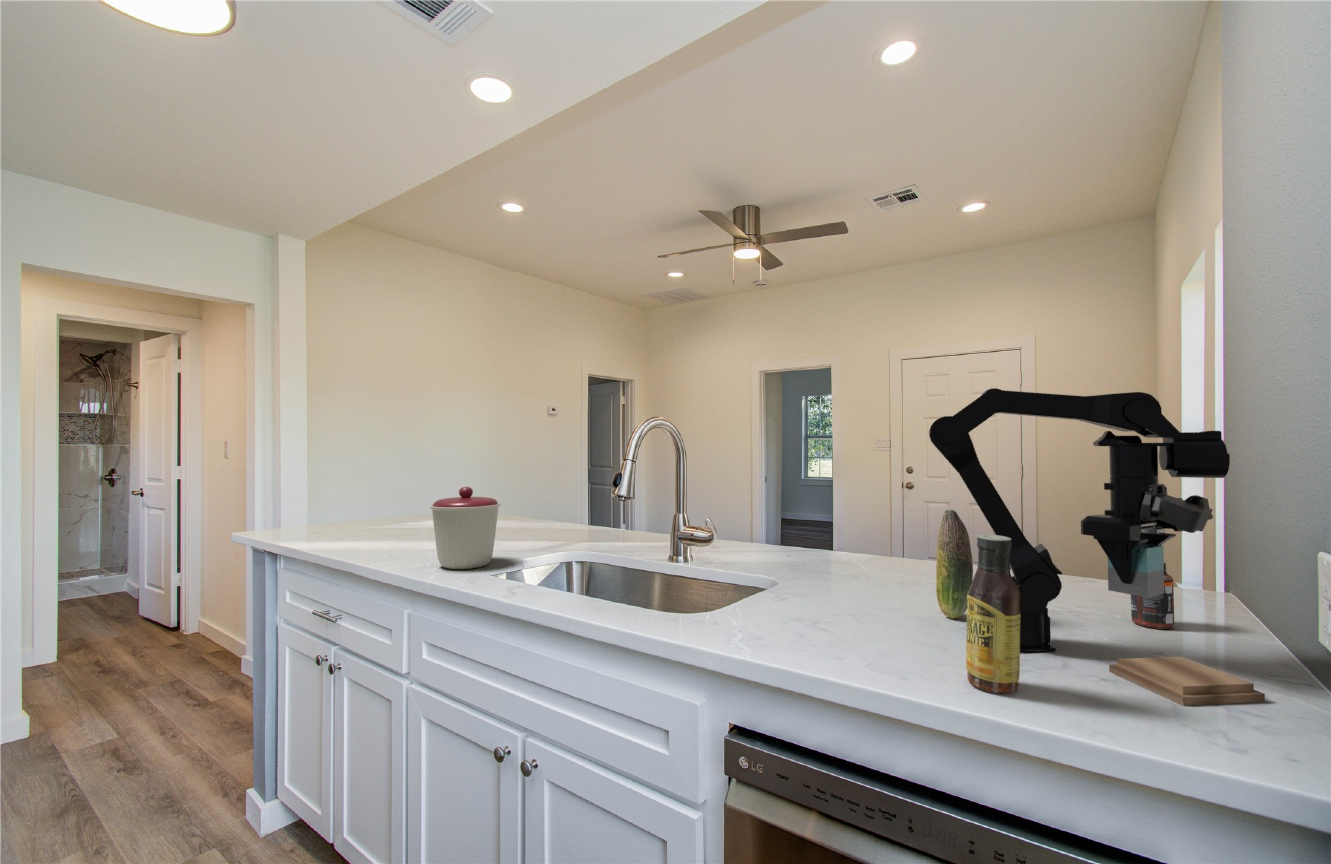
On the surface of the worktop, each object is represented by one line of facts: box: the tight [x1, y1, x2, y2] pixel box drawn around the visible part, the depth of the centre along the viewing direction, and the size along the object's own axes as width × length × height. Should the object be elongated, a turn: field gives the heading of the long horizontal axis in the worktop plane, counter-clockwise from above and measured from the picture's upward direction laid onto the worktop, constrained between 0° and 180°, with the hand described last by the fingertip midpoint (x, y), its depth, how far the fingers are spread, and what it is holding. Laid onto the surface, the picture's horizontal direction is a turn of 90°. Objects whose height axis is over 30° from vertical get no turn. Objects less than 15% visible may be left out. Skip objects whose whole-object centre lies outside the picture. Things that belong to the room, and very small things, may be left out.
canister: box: [429, 486, 502, 570], centre depth 160 cm, size 18×18×21 cm
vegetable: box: [935, 509, 974, 619], centre depth 111 cm, size 6×6×20 cm
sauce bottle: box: [965, 534, 1021, 694], centre depth 79 cm, size 7×6×20 cm
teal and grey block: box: [1107, 544, 1165, 598], centre depth 89 cm, size 5×5×7 cm
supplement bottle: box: [1130, 561, 1175, 630], centre depth 106 cm, size 6×6×11 cm
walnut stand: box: [1108, 656, 1266, 706], centre depth 79 cm, size 11×11×2 cm
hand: (1135, 581), depth 89 cm, fingers closed on teal and grey block, 5 cm apart
